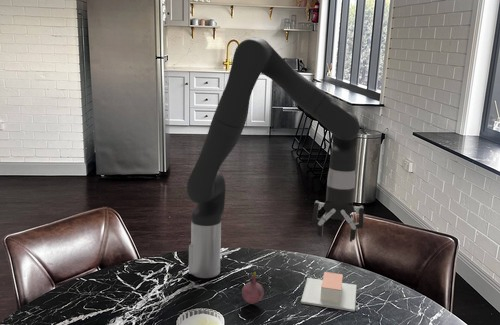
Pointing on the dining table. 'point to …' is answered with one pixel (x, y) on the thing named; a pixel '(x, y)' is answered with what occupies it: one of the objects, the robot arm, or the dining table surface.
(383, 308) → the dining table surface
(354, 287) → the mat
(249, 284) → the vegetable
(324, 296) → the card box
